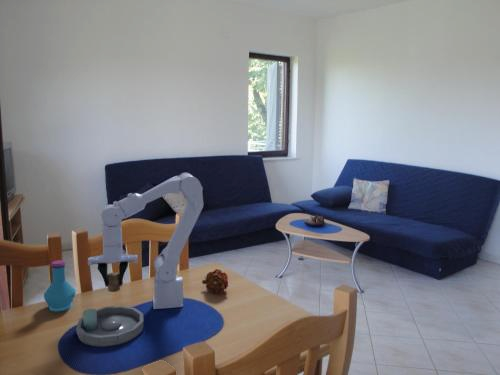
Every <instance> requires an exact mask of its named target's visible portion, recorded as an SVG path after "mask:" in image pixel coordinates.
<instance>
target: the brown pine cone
mask: <svg viewBox="0 0 500 375" xmlns="http://www.w3.org/2000/svg"><path fill="white" fill-rule="evenodd" d="M228 278H229V277H228V275H227V273H226V272H223V271H222V270H221V269H217V268H216V269H214V270H213V271H209V272H208V273H206V275H205V276H204V279H202V280H201V281H202V282H201V284H202V285H205V287H206V290H208V291H209V292H212V293H214V294H218V293H219V294H221V293H223V292H224V291H225V290H226V289H227V288H228V287H229V281H228V280H229V279H228Z"/></svg>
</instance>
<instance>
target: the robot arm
mask: <svg viewBox="0 0 500 375" xmlns="http://www.w3.org/2000/svg"><path fill="white" fill-rule="evenodd" d="M203 189H204V187H203V186H202V183H201V182H200V180H199V179H198V178H197V177H195V176H193V174H191V173H189V172H182V173H180V174H179V175H175V176H173V177H170V178H168V179H167V180H165V181H163V182H162V183H159V184H158V185H156V186H154V187H152V188H151V189H148V190H146V191H145V192H143V193H137V192H135V193H134V192H133V193H132V192H130V193H128V194H127V196H126V197H124V198H122V199H121V200H118V201H117V200H115V201H113V202H112V204H108V205H105V206H104V207H103V209H102V211H101V214H100V215H101V219H102V231H101V232H102V255H99V256H90V257H88V258H87V265H88V266H93V265H97V269H98V272H99V273H100V275H101V277H102V279H103V282H104V285H105V287H107V288H108V274H109V273H108V264H109V265H110V264H119V266H118V268H119V274H120V282H119V285H120V287H121V286H123V280H124V276H125V274H126V271H127V269H128V266H129V263H135V264H137V263H138V254H123V229H122V221H123V220H125V219H127V218H130V217H131V216H133V215H136V214H137V213H139V212H141V211H143V210H145V208H146V205H147V204H148V203H150V202H153V201H155V200H157V199H160V198H162V197H164V196H165V195H168V194H175V195H180V194H182V195H183V198H184V200H185V203H186V206H185V208H184V209H183V212H182V214H181V216H180V218H179V219H178V222H177V224H176V226H175V229H174V231H173V233H172V234H171V236H170V238H169V241H168V243H167V245H166V246H165V247H164V248H163V249H162V250H161V253H160V254H159V255H157V257H155V259H154V262H153V266H154V269H155V271H156V273H155V275H154V276H153V287H154V288H153V290H154V291H153V298H152V307H153V310H160V309H172V308H182V307H183V306H184V283H183V282H184V281H183V276H177V275H178V266H179V264H180V258H181V254H182V251H183V249H184V247H185V246H186V243H187V241H188V239H189V237H190V235H191V233H192V231H193V228H194V227H195V224H196V222H197V220H198V218H199V217H200V214H201V212H202V210H203V208H204V195H203Z"/></svg>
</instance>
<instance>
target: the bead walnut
mask: <svg viewBox="0 0 500 375" xmlns="http://www.w3.org/2000/svg"><path fill="white" fill-rule="evenodd" d="M107 274H108V287H107V291H108V292H111V293H116V292H118V291H120V289H121V286H120V285H119V282H120V272H116V271H115V272H109V273H107Z"/></svg>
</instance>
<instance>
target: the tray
mask: <svg viewBox="0 0 500 375" xmlns="http://www.w3.org/2000/svg"><path fill="white" fill-rule="evenodd" d="M96 310H97V329H95V330H93V331H85V330H84V323H83V316H82V317H80V318H79V319H78V321H77V324H76V329H75V330H76V335H77V337H78V340H79V341H80V342H81V343H82V344H85V345H88V346H92V347H98V348H99V347H100V348H101V347H103V348H104V347H106V348H107V347H113V346H119V345H121V344H122V345H123V344H126V343H128V342H130V341H132V340H133V339H135V338H137V337H138V336H140V334H141V333H142V331H143V329H144V313H143V312H142V311H140V310H139V309H137V308H135V307H131V306H125V305H114V306H113V305H112V306H105V307H102V308H98V309H96Z"/></svg>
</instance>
